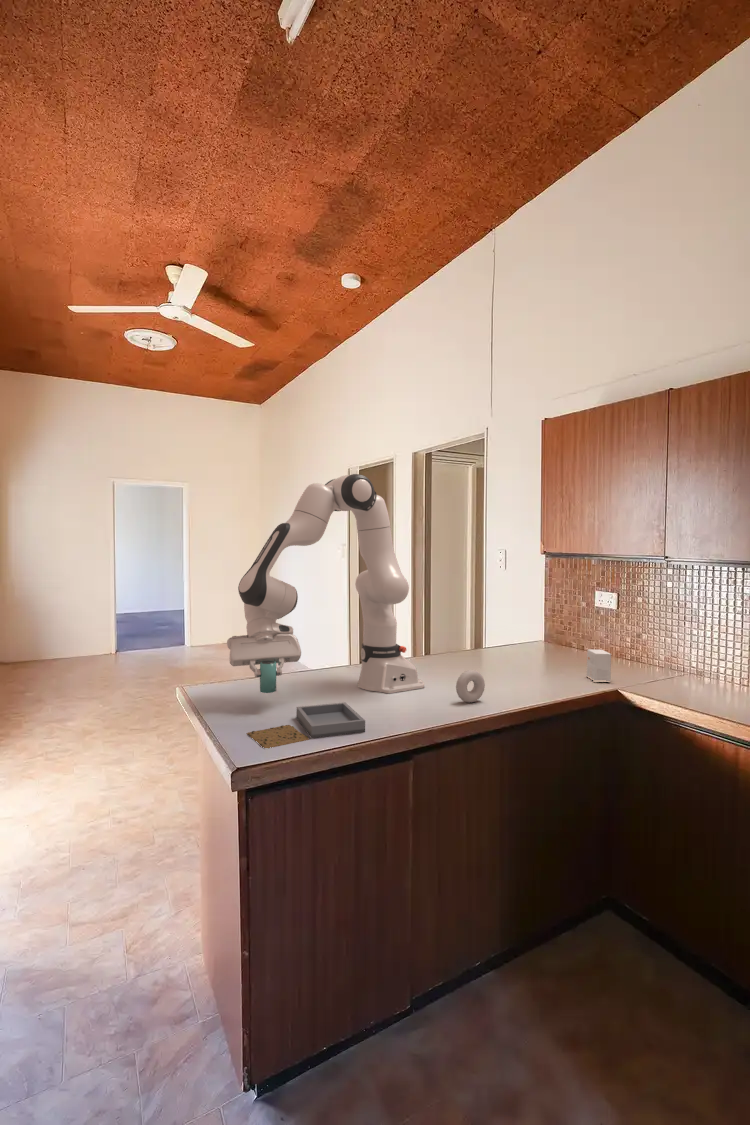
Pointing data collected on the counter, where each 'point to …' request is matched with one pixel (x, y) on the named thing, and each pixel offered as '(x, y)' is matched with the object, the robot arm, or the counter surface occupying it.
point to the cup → (268, 676)
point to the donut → (463, 682)
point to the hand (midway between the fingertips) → (268, 675)
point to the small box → (599, 664)
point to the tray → (330, 720)
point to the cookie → (277, 736)
